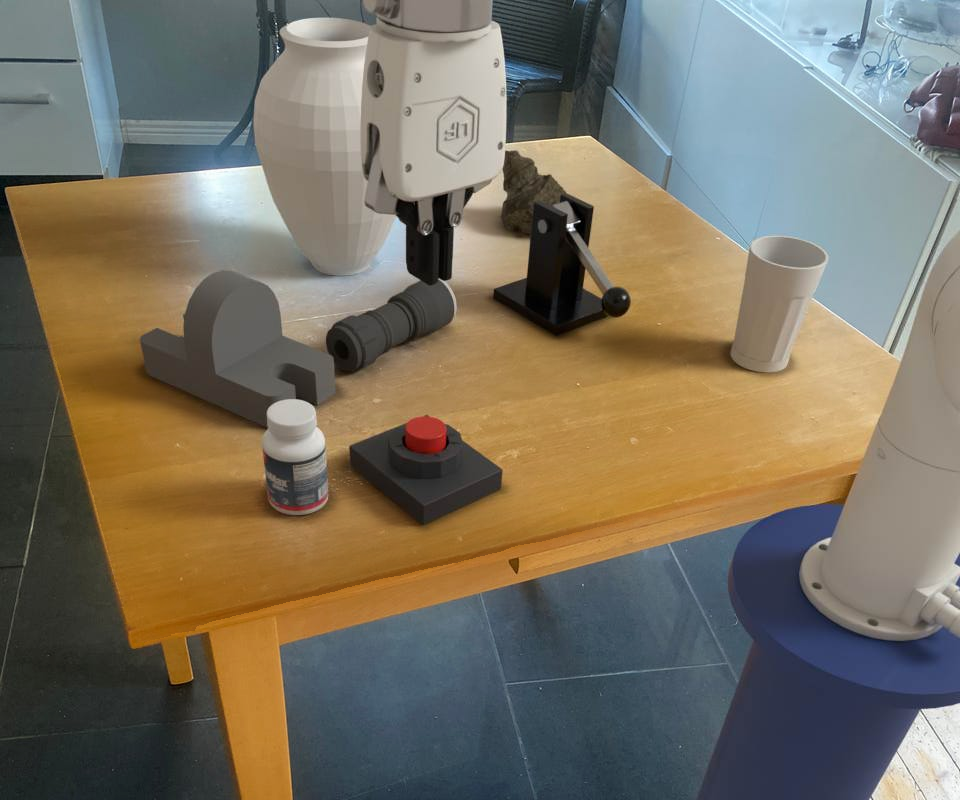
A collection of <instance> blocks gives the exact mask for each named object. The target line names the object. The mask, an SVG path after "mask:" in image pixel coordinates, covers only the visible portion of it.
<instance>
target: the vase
mask: <svg viewBox="0 0 960 800" xmlns="http://www.w3.org/2000/svg"><path fill="white" fill-rule="evenodd" d="M370 26H371V25H369V24H367V23H365V22H363V21H358V20H354V19H350V18H349V19H348V18H339V17H310V18H302V19H298V20H295V21H292V22H290V23H287V24H286V25H284V26H282V27H281V28H280V29H279V35H280V37H281V39H282V41H283V43H284V46H285V47H284V50H283V51H282V52H281V54H280V55H278V57H277V58H276V60H275V61H274V62H273V64H272V65H271V66H270V67H269V69H268V70H267V71H266V73H264V75H263V77H262V78H261V80H260V82H259V86H258V89H257V92H256V96H255V99H254V107H253V136H254V145H255V149H256V152H257V155H258V158H259V161H260V164H261V167H262V171H263V175H264V177H265V180H266V184H267V187H268V191H269V193H270V196H271V199H272V201H273V203H274V205H275V207H276V208H277V211H278V213H279V215H280V217H281V220H282V221H283V223H284V224H285V226H286V228H287V230H288V231H289V233H290V235H291V237H292V239H293V241H294V242H295V244H296V245H297V247H298V249H299V250H300V251H301V253H302V254H303V255H304V257H305V258H306V259H307V260H309V262H310V263H311V265H312V267H313V268H314V269H315V270H316V271H317V272H319V273H322V274H325V275H329V276H337V277H348V276H354V275H358V274H361V273H364V272H365V271H367V270H368V269H369V268H370V266H371V263H372V262H373V261H374V259H375V258H376V257H377V255H378V254H379V253H380V251H381V249H382V248H383V246H384V244H385V243H386V241H387V238H388V237H389V234H390V232H391V230H392V228H393V226H394V223H395V221H396V218H397V216H396V215H389V214H378V213H376V212H374V211H373V210H371V209H369V208H367V207H366V206H365V203H364V201H365V195H366V190H367V184H368V181H367V180H366V179H365V177H364V175H363V170H362V163H361V144H360V128H361V97H362V83H363V72H364V63H365V55H366V48H367V42H368V36H369V30H370Z"/></svg>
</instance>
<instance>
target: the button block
mask: <svg viewBox="0 0 960 800" xmlns="http://www.w3.org/2000/svg"><path fill="white" fill-rule="evenodd" d="M424 416H427V417H430V416H429V415H428V414H426V415H424ZM407 423H408V422H406V423H403V424H400V425H398V426H395V427H393V428H391V429H388V430H385V431H382V432H381V433H378V434H375V435H373V436H370V437H367V438H365V439H363V440H360V441H358V442H355V443H353V444H351V445H349V446H348V449H349V466H350V467H351V468H353V470H355V471H356V472H357V473H358V474H360V475H361V476H362V477H364V478H365V480H367V481H368V482H370V483H371V484H372V485H373V486H374V487H376V488H377V489H378V490H379V491H381V492H382V493H383V494H384V495H385V496H387V497H388V498H389V499H390V500H391V501H392V502H394V503H395V505H397V506H399V507H400V508H401V509H403V511H405V512H406V513H407V514H408V515H410V516H411V517H412V518H414V519H415V520H416V522H418V523H419V524H421V526H426V525H428V524H429V523H432V522H434V521H436V520H438V519H441V518H442V517H445V516H446V515H447V516H448V514H451V513H454V512H455V511H457V510H460V509H462V508H464V507H467V506H468V505H470V504H472V503H474V502H476V501H479V500H481V499H483V498H485V497H487V496H489V495H492V494H494V493H496V492H498V491H500V490H501V489H502V484H503V483H502V481H503V471H504V469H503V468H501V467H500V466H498V464H496V463H495V462H493V461H492V460H490V459H489V458H487V457H486V456H485V455H483V454H482V453H481V452H479V451H478V450H477V449H475V448H474V447H473V446H471V445H470V444H468V443H467V442H466V441H464V440H463V438H462V435H461V433H460V431H458V430H457V429H455V428H454V427H453V426H451V425H450V424H447V423H444V424H445V425H446V446H445V448H444V449H443V450H442V451H440V452H438V453H436V454H420V453H416V452H412V451H410V450H409V449H408V448H407V447H406V444H405V427H406V424H407Z"/></svg>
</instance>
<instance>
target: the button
mask: <svg viewBox="0 0 960 800" xmlns="http://www.w3.org/2000/svg"><path fill="white" fill-rule="evenodd" d="M406 423H407V424H406V427H405V444H406V447H407V448H408V449H409V450H410V451H412V452H416V453H420V454H436V453H438V452H440V451H442V450H443V449H444V448H445V446H446V425H445V424H446V423H445V422H444V421H442V420H441V419H439V418H437V417H433V416H429V417H427V416H425V415H423V416H416V417H414V418H412V419H410V420H409V421H407V422H406Z"/></svg>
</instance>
